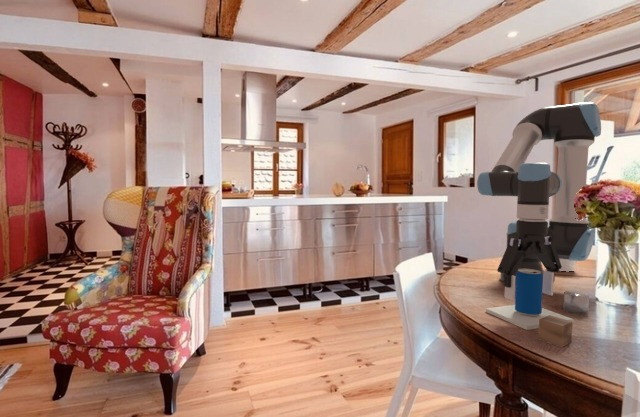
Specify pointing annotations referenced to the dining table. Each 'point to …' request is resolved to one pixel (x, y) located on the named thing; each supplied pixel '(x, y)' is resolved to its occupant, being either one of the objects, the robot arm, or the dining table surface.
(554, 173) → the robot arm
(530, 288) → the beverage can
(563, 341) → the walnut block
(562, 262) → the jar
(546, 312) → the white board
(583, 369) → the dining table surface
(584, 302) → the grey metal tin
